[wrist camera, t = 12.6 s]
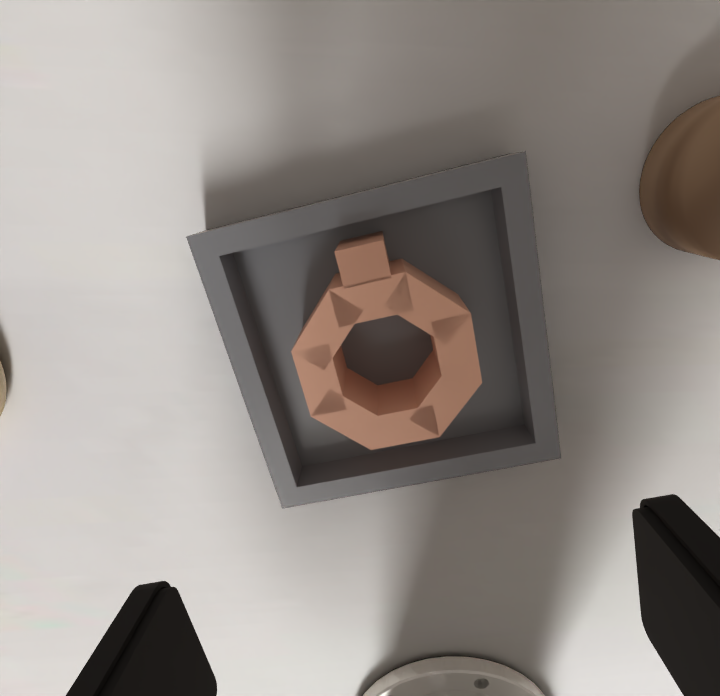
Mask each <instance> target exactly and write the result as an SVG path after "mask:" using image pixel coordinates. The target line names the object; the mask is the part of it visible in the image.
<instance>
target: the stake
mask: <svg viewBox="0 0 720 696" xmlns="http://www.w3.org/2000/svg"><path fill="white" fill-rule="evenodd" d="M639 193H640V204H641V210H642V213H643V216H644V219H645V221H646V223H647V224H648V226H649V228H650V229H651V230H652V232H653V233H654V234H655V235H656V236H657V237H658V238H659V239H660V240H661V241H663V242H664V243H666V244H667V245H669V246H671V247H673V248H675V249H678V250H681V251H685V252H689V253H693V254H697V255H701V256H705V257H709V258H713V259H717V260H720V96H718V97H714V98H711V99H708V100H705V101H703V102H701V103H699V104H697V105H695V106H693V107H691V108H690V109H688V110H687V111H685V112H684V113H682V114H681V115H680V116H679V117H677V118H676V119H675V120H674V121H673V122H672V123H671V124H670V125H669V126H668V127H667V128H666V129H665V130H664V131H663V133H662V134H661V135H660V136H659V138H658V139H657V140H656V142H655V144H654V145H653V147H652V149H651V150H650V153H649V155H648V157H647V159H646V162H645V165H644V167H643V170H642V175H641V180H640V190H639Z"/></svg>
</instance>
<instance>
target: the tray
mask: <svg viewBox="0 0 720 696" xmlns="http://www.w3.org/2000/svg"><path fill="white" fill-rule="evenodd" d="M380 231H382V232H383V236H384V241H385V245H386V250H387V255H388V259H389V261H393V260H397V259H403V260H405V261H406V262H408V263H410V264H411V265H413V266H414V267H416V268H417V269H419V270H421V271H422V272H424V273H425V274H427V275H428V276H430V277H432V278H433V279H435V280H436V281H438V282H439V283H441V284H443V285H444V286H446V287H447V288H449V289H450V290H452V291H454V292H455V293H457V294H458V295H459V296H460V298H461V299H462V301H463V302H464V304H465V305H466V307H467V308H468V310H469V311H470V313H471V317H472V323H473V329H474V335H475V341H476V347H477V354H478V360H479V366H480V372H481V378H482V384H481V385H480V386H479V387H478V389H477V390H476V391H475V393H474V394H473V395H472V396H471V398H470V399H469V400H468V402H467V403H466V404H465V405H464V407H463V408H462V409H461V411H460V412H459V413H458V414H457V416H456V417H455V418H454V420H453V421H452V422H451V423H450V425H449V426H448V427H447V428H446V430H445V431H444V432H443V434H442V435H441V436H440V437H438V438H433V439H427V440H422V441H417V442H411V443H406V444H401V445H395V446H390V447H385V448H379V449H374V450H370V449H368V448H366V447H365V446H363V445H361V444H359V443H357V442H356V441H354V440H352V439H350V438H348V437H347V436H345V435H343V434H341V433H339V432H338V431H336V430H334V429H332V428H330V427H329V426H327V425H325V424H323V423H321V422H320V421H318V420H316V419H314V418H312V417H311V416H310V412H309V409H308V406H307V403H306V399H305V396H304V393H303V389H302V386H301V383H300V379H299V376H298V373H297V369H296V366H295V363H294V360H293V356H292V353H291V351H292V349H293V347H294V345H295V342H296V340H297V338H298V336H299V334H300V332H301V330H302V328H303V326H304V325H305V323H306V322H307V320H308V318H309V317H310V315H311V313H312V312H313V310H314V308H315V307H316V305H317V303H318V302H319V300H320V298H321V297H322V295H323V293H324V292H325V290H326V288H327V287H328V285H329V283H330V282H331V280H332V279H333V277H334V275H335V274H337V273H340V272H339V268H338V264H337V260H336V256H335V252H334V251H335V250H336V248H337V246H338V244H339V242H340V241H342V240H346V239H350V238H354V237H359V236H363V235H367V234H371V233H375V232H380ZM187 240H188V243H189V246H190V249H191V252H192V254H193V257H194V260H195V263H196V266H197V268H198V271H199V274H200V277H201V280H202V283H203V285H204V288H205V291H206V294H207V297H208V300H209V302H210V305H211V308H212V311H213V314H214V317H215V319H216V322H217V325H218V328H219V331H220V333H221V336H222V339H223V342H224V345H225V348H226V350H227V353H228V356H229V359H230V362H231V365H232V367H233V370H234V373H235V376H236V379H237V382H238V384H239V387H240V390H241V393H242V396H243V398H244V401H245V404H246V407H247V410H248V413H249V415H250V418H251V421H252V424H253V427H254V430H255V432H256V435H257V438H258V441H259V444H260V446H261V449H262V452H263V455H264V458H265V461H266V463H267V466H268V469H269V472H270V475H271V478H272V480H273V483H274V486H275V489H276V492H277V495H278V497H279V500H280V503H281V506H282V508H288V507H293V506H299V505H304V504H310V503H315V502H321V501H327V500H332V499H338V498H343V497H349V496H354V495H360V494H365V493H371V492H376V491H382V490H387V489H393V488H398V487H404V486H410V485H415V484H421V483H426V482H432V481H437V480H443V479H448V478H454V477H459V476H465V475H470V474H476V473H481V472H487V471H493V470H498V469H504V468H509V467H515V466H520V465H526V464H531V463H537V462H542V461H548V460H553V459H559V458H561V453H560V444H559V435H558V427H557V418H556V409H555V401H554V392H553V384H552V375H551V366H550V358H549V349H548V340H547V332H546V323H545V314H544V306H543V297H542V289H541V280H540V271H539V263H538V254H537V245H536V237H535V228H534V220H533V211H532V202H531V194H530V185H529V176H528V168H527V159H526V151H525V152H519V153H512V154H507V155H503V156H499V157H495V158H491V159H487V160H484V161H480V162H476V163H472V164H468V165H464V166H460V167H456V168H452V169H448V170H444V171H440V172H436V173H432V174H428V175H424V176H420V177H416V178H412V179H408V180H404V181H400V182H396V183H392V184H388V185H384V186H380V187H376V188H372V189H368V190H364V191H360V192H356V193H353V194H349V195H345V196H341V197H337V198H333V199H329V200H325V201H321V202H317V203H313V204H309V205H305V206H301V207H297V208H293V209H289V210H285V211H281V212H277V213H273V214H269V215H265V216H261V217H257V218H253V219H249V220H245V221H241V222H237V223H233V224H229V225H225V226H222V227H218V228H214V229H210V230H206V231H202V232H199V233H196V234H193V235H190V236H187ZM341 347H342V351H343V354H344V358H345V362H346V366H347V368H349V369H350V370H352V371H354V372H355V373H357V374H359V375H361V376H362V377H364V378H366V379H367V380H369V381H371V382H373V383H374V384H376V385H382V384H387V383H392V382H397V381H401V380H406V379H411V378H413V377H414V376H415V374H416V373H417V371H418V370H419V369H420V367H421V366H422V364H423V363H424V362H425V360H426V359H427V358H428V356H429V355H430V353H431V352H432V351H433V347H432V342H431V336H430V334H428V333H427V332H425V331H424V330H422V329H420V328H419V327H417V326H415V325H414V324H412V323H410V322H409V321H407V320H406V319H404V318H402V317H401V316H399V315H393V316H388V317H384V318H379V319H375V320H370V321H365V322H361V323H356V324H354V326H353V327H352V329H351V330H350V332H349V333H348V335H347V336H346V338H345V340H344V341H343V343H342V344H341Z"/></svg>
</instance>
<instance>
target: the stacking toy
mask: <svg viewBox="0 0 720 696" xmlns="http://www.w3.org/2000/svg"><path fill="white" fill-rule="evenodd" d="M6 393H7V391H6V378H5V374H4V370H3V367H2V364H1V361H0V416H1V414H2V412H3V409H4V405H5V401H6Z"/></svg>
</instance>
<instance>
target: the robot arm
mask: <svg viewBox="0 0 720 696" xmlns="http://www.w3.org/2000/svg"><path fill="white" fill-rule="evenodd" d="M632 517H633V528H634V539H635V551H636V562H637V573H638V585H639V596H640V607H641V617H642V622H643V626H644V628H645V631H646V633H647V636H648V638H649V639H650V641H651V643H652V644H653V646H654V648H655V649H656V651H657V653H658V654H659V656H660V658H661V659H662V661H663V662H664V664H665V666H666V667H667V669H668V671H669V672H670V674H671V675H672V677H673V679H674V680H675V682H676V684H677V685H678V687H679V689H680V690H681V692H682V693H683V695H684V696H720V537H719V536H718V535H717V534H716V533H715V532H714V531H713V530H712V529H711V528H710V527H709V526H708V525H707V524H706V523H705V522H704V521H703V520H702V519H701V518H700V517H699V516H698V515H697V514H695V513H694V512H693V511H692V510H691V509H690V508H689V507H688V506H687V505H686V504H685V503H684V502H683V501H682V500H681V499H680V498H679V497H678V496H677V495H673V494H671V495H666V496H660V497H654V498H648V499H643V500H641V503H640V508H638V509H634V510H633V512H632ZM216 695H217V683H216V679H215V676H214V674H213V672H212V669H211V667H210V665H209V662H208V660H207V658H206V655H205V653H204V651H203V648H202V646H201V643H200V641H199V639H198V636H197V634H196V632H195V629H194V627H193V625H192V622H191V620H190V618H189V615H188V613H187V611H186V608H185V606H184V604H183V601H182V599H181V597H180V594H179V592H178V590H177V589H176V588H175V587H171V586H170V584H169V583H167V582H166V581H160V582H155V583H149V584H143V585H139V586H137V587H135V588H134V590H133V591H132V592H131V594H130V595H129V597H128V599H127V600H126V602H125V603H124V605H123V606H122V608H121V610H120V611H119V613H118V614H117V616H116V617H115V619H114V621H113V622H112V624H111V625H110V627H109V628H108V630H107V632H106V633H105V635H104V636H103V638H102V639H101V641H100V643H99V644H98V646H97V647H96V649H95V651H94V652H93V654H92V655H91V657H90V658H89V660H88V662H87V663H86V665H85V666H84V668H83V669H82V671H81V673H80V674H79V676H78V677H77V679H76V680H75V682H74V684H73V685H72V687H71V688H70V690H69V691H68V693H67V695H66V696H216ZM363 696H545V695H544V694H543V693H542V691H541V690H540V689H539V688H538V687H537V686H536V685H535V684H534V683H533V682H532V681H530V680H529V679H528V678H526V677H525V676H524V675H522V674H521V673H519V672H517V671H515V670H513V669H511V668H509V667H507V666H505V665H502V664H498V663H495V662H492V661H489V660H485V659H478V658H472V657H456V656H445V657H437V658H429V659H424V660H420V661H417V662H413V663H409V664H407V665H404V666H402V667H400V668H398V669H395V670H393V671H391V672H390V673H388V674H387V675H385V676H383V677H382V678H380V679H379V680H377V681H376V682H375V683H374V684H373V685H372V686H371V687H370V688H369V689H368V690H367V691H366V692H365V694H364V695H363Z"/></svg>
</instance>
